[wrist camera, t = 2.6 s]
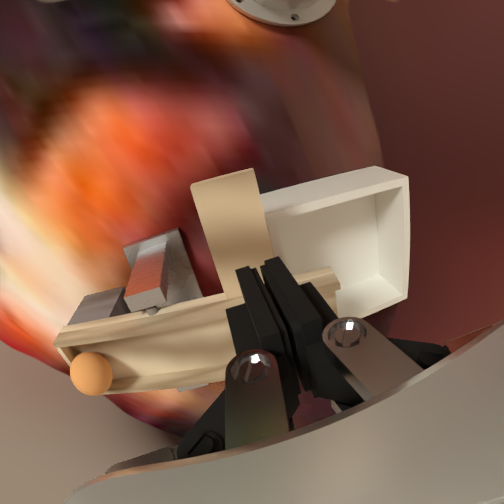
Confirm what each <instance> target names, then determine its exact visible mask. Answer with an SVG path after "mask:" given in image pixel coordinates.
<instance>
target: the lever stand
mask: <svg viewBox="0 0 504 504" xmlns="http://www.w3.org/2000/svg"><path fill="white" fill-rule="evenodd" d="M123 250H124V252H125V255H126V257H127V259H128V262H129V264H130V266H131V268H132V273H131V276H130V279H129V282H128V285H127V288H126V292H125V295H124V300H125V302H126V303H127V305H128V307H129V309H130V311H131V313H132V312H135V311H139V310H142V309H146V308H149V307H152V306H157V308H158V307H163V306H167V305H172V304H176V303H181V302H185V301H190V300H194V299H199V298H203V297H204V296H203V293H202V291H201V288H200V286H199V283H198V280H197V278H196V275H195V272H194V270H193V267H192V264H191V262H190V259H189V256H188V254H187V251H186V248H185V245H184V242H183V240H182V237H181V234H180V231H179V228H175V229H172V230H169V231H166V232H163V233H160V234H157V235H153V236H150V237H147V238H144V239H141V240H139V241H136V242H133V243H130V244H127V245H124V247H123ZM206 385H209V383H206V384H200V385H193V386H186V387H179V388H177V389H178V391H179V392H181V391H185V390H190V389H194V388H198V387H202V386H206Z"/></svg>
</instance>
